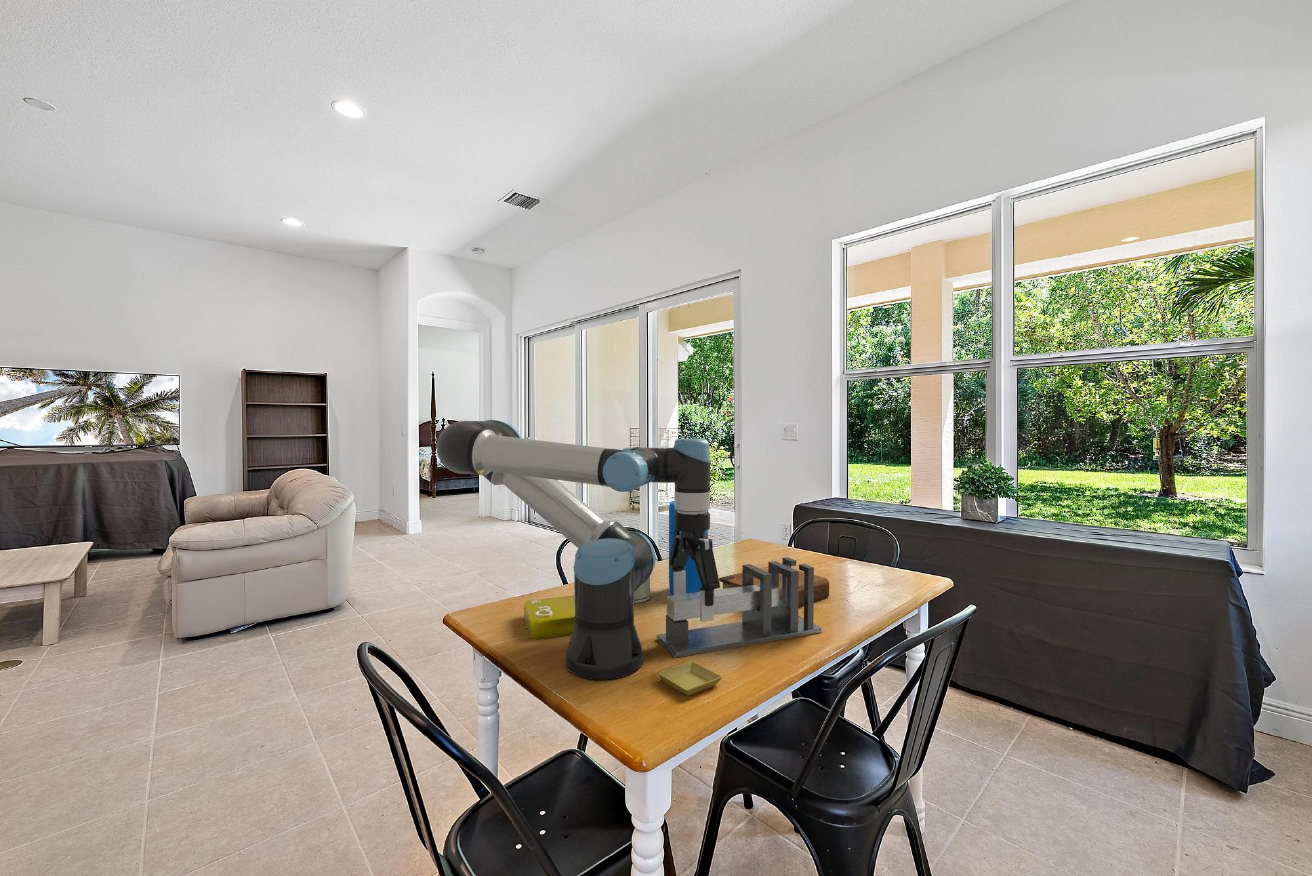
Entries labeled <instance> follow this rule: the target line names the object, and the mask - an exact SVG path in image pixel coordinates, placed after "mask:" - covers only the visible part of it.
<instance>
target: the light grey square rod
mask: <svg viewBox="0 0 1312 876" xmlns="http://www.w3.org/2000/svg"><path fill="white" fill-rule="evenodd" d="M780 593H781V588H780V587H778V586H776V585H774V584H772V605H771V608H772V607H774V606H780ZM753 609H760V584H757V585H751V586H743V587H735V588H728V589H723V588H721V589H720V588H719V589H714V616H717V615H724V614H726V615H727V614H733V613H740V612H742V611H747V610H753ZM666 615H668V616H669V617H670V618H671V619H672V620H674V621H678V620H685V619H686V620H691V619H700V592H696V593H688V594H680V595H673V596H672V595H667V596H666Z"/></svg>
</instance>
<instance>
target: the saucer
mask: <svg viewBox="0 0 1312 876" xmlns="http://www.w3.org/2000/svg"><path fill="white" fill-rule="evenodd" d="M657 674H658V676H659V678H660V679H661V681H663V682H664V683H666V684H667V685H669V686H670V687H671V688H673V689H675V690H676V691H678V692H679V693H682V694H683V695H684V696H686V697H689V696H691V695H695V694H697V693H701V692H703V691H705V690H707V689H710V688H713V687H714V686H716V685H717V684H718V683H719V682H721V680H722V679H723V677H722V675H720V674H718V673H717V672H715V671H713V670H711V669H708V668H707V667H705V666H703V665H701V664H699V663H698V662H695V661H693V660H692V661H688V662H685V663H683V664H679V665H676V666H673V667H670V668H666V669H664V670H661V671H660V670H659V672H657Z"/></svg>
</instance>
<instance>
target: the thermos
mask: <svg viewBox="0 0 1312 876" xmlns="http://www.w3.org/2000/svg"><path fill="white" fill-rule="evenodd" d="M676 512H677V510H676V509H675V503H674V500H673V501H670V502H669V506H668V560H669V559H670V555H671V550H672V545H673V541H674V530H675V529H676V528H675V513H676ZM704 538H705V539H709V530H707V531H705V532H704ZM674 560H675V559H674ZM685 566H686V568H685V569H684V570H682V571H686V594H688V593H696V592H700V588H701V586H702V585H701V581H700V578H699V575H698V572H697V568H696V565H695V562H694V560H692V559H691V556H689V558H688V560H687V563H686V565H685ZM673 572H674V571H673V570H672V566H670V565H669V564H668V586H669V587H668V589H669V590H668V591H669V594H670V596H673V595H674V589H673Z"/></svg>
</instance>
